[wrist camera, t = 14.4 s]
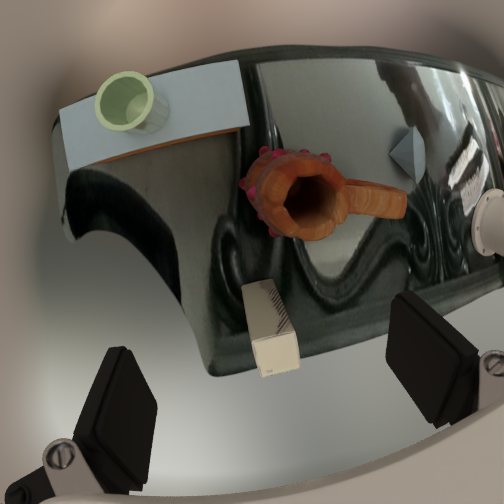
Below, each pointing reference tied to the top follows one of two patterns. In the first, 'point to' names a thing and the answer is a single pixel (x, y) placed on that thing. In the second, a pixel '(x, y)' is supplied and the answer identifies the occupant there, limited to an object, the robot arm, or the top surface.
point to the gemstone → (411, 155)
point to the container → (177, 124)
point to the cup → (131, 104)
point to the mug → (312, 194)
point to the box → (270, 329)
